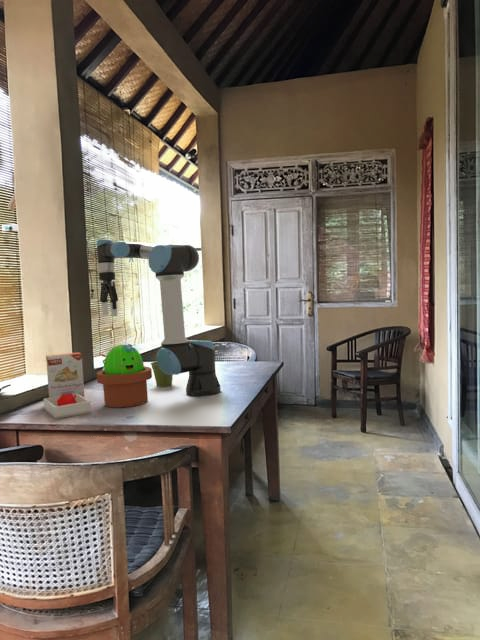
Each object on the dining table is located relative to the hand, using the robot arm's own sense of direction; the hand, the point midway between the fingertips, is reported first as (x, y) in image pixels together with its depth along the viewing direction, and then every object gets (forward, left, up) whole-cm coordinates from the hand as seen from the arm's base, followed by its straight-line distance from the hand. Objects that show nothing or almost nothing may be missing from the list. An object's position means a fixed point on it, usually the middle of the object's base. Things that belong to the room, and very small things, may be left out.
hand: (109, 315), depth 243 cm
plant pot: (-16, -19, -35) cm, 43 cm away
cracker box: (-18, +27, -35) cm, 48 cm away
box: (-35, +31, -35) cm, 58 cm away
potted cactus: (-39, +8, -35) cm, 53 cm away
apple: (-35, +31, -34) cm, 58 cm away
